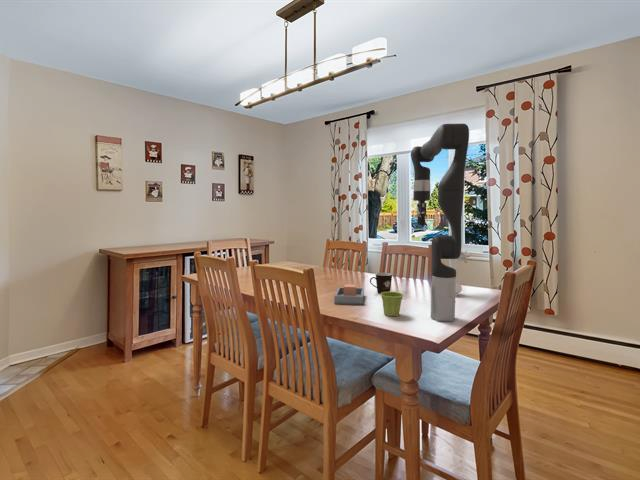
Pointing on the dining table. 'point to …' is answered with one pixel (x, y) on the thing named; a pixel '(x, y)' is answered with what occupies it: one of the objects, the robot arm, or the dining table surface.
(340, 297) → the gray tray
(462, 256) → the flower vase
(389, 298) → the plant pot
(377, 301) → the dining table surface
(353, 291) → the terracotta block
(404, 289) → the dining table surface
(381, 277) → the coffee mug
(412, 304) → the dining table surface
